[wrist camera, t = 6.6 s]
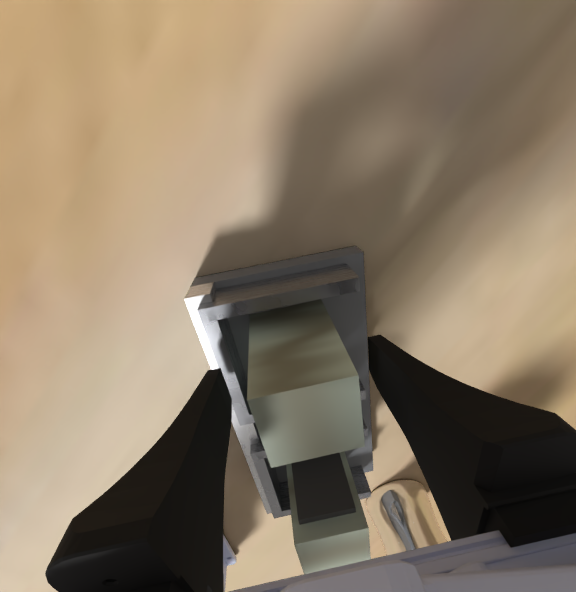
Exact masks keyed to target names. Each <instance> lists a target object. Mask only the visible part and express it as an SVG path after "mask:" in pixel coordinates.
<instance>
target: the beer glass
mask: <svg viewBox="0 0 576 592" xmlns="http://www.w3.org/2000/svg"><path fill="white" fill-rule="evenodd" d="M366 509H367V512H368V514H369V516H370V518H371V520H372V522H373V524H374V526H375V528H376V530H377V532H378V535H379V537H380V539H381V542H382V544H383V547H384V550H385V553H386V556H387V555H392V554H396V553H400V552H405V551H409V550H414V549H418V548H422V547H427V546H431V545H436V544H440V543H444V542H448V541H447V539H446V537H445V536H444V534H443V532H442V530H441V528H440V526H439V524H438V522H437V519H436V517H435V514H434V511H433V509H432V506H431V503H430V500H429V497H428V494H427V492H426V489H425V488H424V486H423V485H422V484H421V483H419V482H417V481H414V480H407V479H404V480H396V481H392V482H389V483H386V484H384V485H382V486H380V487H378V488H377V489H375V490H374V491H373V492H372V493H371V497H368V498H367V501H366Z"/></svg>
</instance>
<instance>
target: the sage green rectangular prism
mask: <svg viewBox="0 0 576 592" xmlns="http://www.w3.org/2000/svg"><path fill="white" fill-rule="evenodd" d="M247 401H248V404H249V407H250V410H251V413H252V415H253V418H254V421H255V424H256V427H257V429H258V432H259V435H260V438H261V441H262V444H263V446H264V449H265V452H266V455H267V458H268V460H269V463H270V466H271V468H273V467H278V466H282V465H286V464H291V463H295V462H299V461H304V460H308V459H313V458H317V457H321V456H326V455H330V454H335V453H339V452H343V451H348V450H352V449H356V448H361V447H365V442H364V431H363V419H362V408H361V397H360V386H359V375H358V373H357V371H356V369H355V367H354V365H353V363H352V361H351V359H350V357H349V355H348V353H347V351H346V349H345V347H344V345H343V342H342V340H341V338H340V336H339V334H338V332H337V330H336V328H335V326H334V324H333V322H332V320H331V318H330V316H329V314H328V312H327V310H326V308H325V306H324V304H323V302H322V300H321V299H320V300H315V301H310V302H306V303H301V304H297V305H292V306H288V307H283V308H278V309H274V310H269V311H265V312H260V313H255V314H251V315H250V322H249V354H248V386H247Z"/></svg>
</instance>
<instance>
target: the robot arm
mask: <svg viewBox="0 0 576 592" xmlns="http://www.w3.org/2000/svg"><path fill="white" fill-rule="evenodd" d="M368 354H369V370H370V373H371V375H372V378H373V380H374V382H375V384H376V387H377V389H378V390H379V392H380V394H381V396H382V397H383V399H384V401H385V402H386V404H387V406H388V407H389V409H390V411H391V412H392V414H393V416H394V417H395V419H396V421H397V422H398V424H399V426H400V427H401V429H402V431H403V433H404V435H405V436H406V438H407V440H408V442H409V444H410V447H411V449H412V451H413V453H414V455H415V457H416V459H417V461H418V464H419V466H420V468H421V470H422V472H423V475H424V477H425V479H426V481H427V483H428V486H429V488H430V490H431V493H432V495H433V497H434V500H435V502H436V504H437V506H438V509H439V511H440V514H441V516H442V518H443V521H444V523H445V526H446V528H447V531H448V533H449V535H450V538H451V540H452V541H449V542H444V543H440V544H436V545H431V546H427V547H422V548H418V549H414V550H409V551H405V552H400V553H396V554H392V555H387V556H383V557H379V558H374V559H370V560H365V561H361V562H357V563H352V564H348V565H343V566H339V567H335V568H330V569H326V570H322V571H317V572H313V573H308V574H304V575H300V576H295V577H291V578H286V579H282V580H278V581H273V582H269V583H264V584H260V585H256V586H251V587H247V588H243V589H238V590H234V591H229V592H576V430H575V429H574V428H573V427H571V426H570V425H569V424H568V423H567V422H565V421H564V420H563V419H562V418H561V417H559V416H558V415H557V414H555V413H553V412H549V411H545V410H542V409H538V408H534V407H530V406H527V405H523V404H520V403H516V402H513V401H510V400H507V399H504V398H501V397H498V396H495V395H492V394H489V393H487V392H484V391H482V390H479V389H476V388H474V387H471V386H469V385H467V384H464V383H462V382H460V381H457V380H455V379H453V378H451V377H449V376H447V375H445V374H443V373H441V372H439V371H437V370H435V369H433V368H432V367H430V366H428V365H426V364H424V363H423V362H421V361H419V360H418V359H416V358H414V357H413V356H411V355H410V354H408V353H406V352H405V351H403V350H402V349H400V348H399V347H397V346H396V345H394V344H393V343H391V342H390V341H389V340H387V339H386V338H384V337H383V336H381V335H377V336H372V337H368ZM231 421H232V398H231V395H230V392H229V390H228V387H227V384H226V381H225V379H224V376H223V373H222V370H221V368H218V369H213V370H208V371H207V373H206V374H205V376H204V377H203V379H202V380H201V382H200V384H199V385H198V387H197V388H196V390H195V391H194V393H193V395H192V396H191V398H190V399H189V400H188V402H187V403H186V405H185V406H184V408H183V409H182V411H181V412H180V413H179V415H178V416H177V418H176V419H175V420H174V422H173V423H172V424H171V426H170V427H169V428H168V429H167V431H166V432H165V433H164V434H163V435H162V437H161V438H160V439H159V440H158V441H157V442H156V443H155V445H154V446H153V447H152V448H151V449H150V450H149V451H148V452H147V453H146V454H145V455H144V456H143V457H142V458H141V459H140V460H139V461H138V462H137V463H136V464H135V465H134V466H133V467H132V468H131V469H130V470H129V471H128V472H127V473H126V474H125V475H124V476H123V477H122V478H121V479H120V480H119V481H117V482H116V483H115V484H114V485H113V486H112V487H111V488H110V489H108V490H107V491H106V492H105V493H104V494H103V495H101V496H100V497H99V498H98V499H97V500H95V501H94V502H93V503H92V504H90V505H89V506H88V507H87V508H85V509H84V510H83V511H82V512H81V513H79V514H78V515H77V516H75V517H74V518H73V519H72V521H71V523H70V525H69V526H68V528H67V530H66V532H65V534H64V536H63V538H62V540H61V542H60V544H59V546H58V548H57V550H56V552H55V554H54V556H53V557H52V559H51V561H50V563H49V565H48V567H47V570H46V573H45V574H46V578H47V581H48V583H49V584H50V585H51V586H52V587H53V588H54V589H56V590H57V591H58V592H225V585H226V570H227V566H228V565H232V564H235V563H236V556H235V554H234V552H233V550H232V549H231V547H230V545H229V543H228V541H227V540H226V538H225V536H224V534H223V512H224V480H225V468H226V460H227V453H228V445H229V437H230V429H231Z"/></svg>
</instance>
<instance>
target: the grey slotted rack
mask: <svg viewBox="0 0 576 592" xmlns="http://www.w3.org/2000/svg"><path fill="white" fill-rule="evenodd" d="M320 299H321V300H322V302H323V304H324V306H325V308H326V310H327V312H328V314H329V316H330V318H331V320H332V322H333V324H334V326H335V328H336V330H337V332H338V334H339V336H340V338H341V340H342V342H343V345H344V347H345V349H346V351H347V353H348V355H349V357H350V359H351V361H352V363H353V365H354V367H355V369H356V371H357V373H358V375H359V386H360V397H361V408H362V419H363V431H364V442H365V447H361V448H356V449H352V450H348V451H343V452H339V453H335V454H330V455H326V456H321V457H317V458H313V459H308V460H304V461H299V462H295V463H291V464H286V465H282V466H278V467H273V468H271V466H270V463H269V460H268V458H267V455H266V452H265V449H264V446H263V444H262V441H261V438H260V435H259V432H258V429H257V427H256V424H255V421H254V418H253V415H252V413H251V410H250V407H249V404H248V401H247V386H248V354H249V322H250V315H251V314H255V313H260V312H265V311H269V310H274V309H278V308H283V307H288V306H292V305H297V304H301V303H306V302H310V301H315V300H320ZM184 300H185V303H186V305H187V308H188V310H189V313H190V316H191V318H192V321H193V323H194V326H195V329H196V331H197V334H198V336H199V339H200V341H201V344H202V347H203V349H204V352H205V354H206V357H207V360H208V362H209V365H210V367H211V370H213V369H218V368H221V370H222V373H223V376H224V379H225V381H226V384H227V387H228V390H229V392H230V395H231V398H232V421H231V422H232V424H233V427H234V429H235V432H236V435H237V437H238V440H239V442H240V445H241V448H242V450H243V453H244V455H245V458H246V461H247V463H248V466H249V468H250V471H251V473H252V476H253V479H254V481H255V484H256V486H257V489H258V492H259V494H260V497H261V499H262V502H263V505H264V507H265V510H266V512H267V514H268V513H272V514H273V517H274V518H278V517H283V516H287V515H291V517H292V526H293V536H294V545H295V548H296V551H297V554H298V557H299V560H300V563H301V566H302V569H303V572H304V574H308V573H313V572H317V571H322V570H326V569H330V568H335V567H339V566H343V565H348V564H352V563H357V562H361V561H365V560H370V559H371V557H370V542H369V528H368V525H367V522H366V518H365V515H364V512H363V509H362V506H361V502H360V499H364V498H368V497H371V491H370V488H369V485H368V482H367V479H366V477H365V474H364V473H365V472H369V471H373V454H372V432H371V410H370V387H369V365H368V343H367V320H366V298H365V276H364V253H363V251H361V250H360V249H359V248H358V247H357V246H352V247H347V248H342V249H337V250H332V251H327V252H322V253H317V254H312V255H307V256H302V257H297V258H292V259H287V260H282V261H277V262H272V263H267V264H262V265H257V266H252V267H247V268H242V269H237V270H232V271H227V272H222V273H216V274H211V275H206V276H201V277H196V278H195V279H194V281H193V283H192V285H191V287H190V288H189V290H188V292H187V294H186V296H185V298H184Z"/></svg>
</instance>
